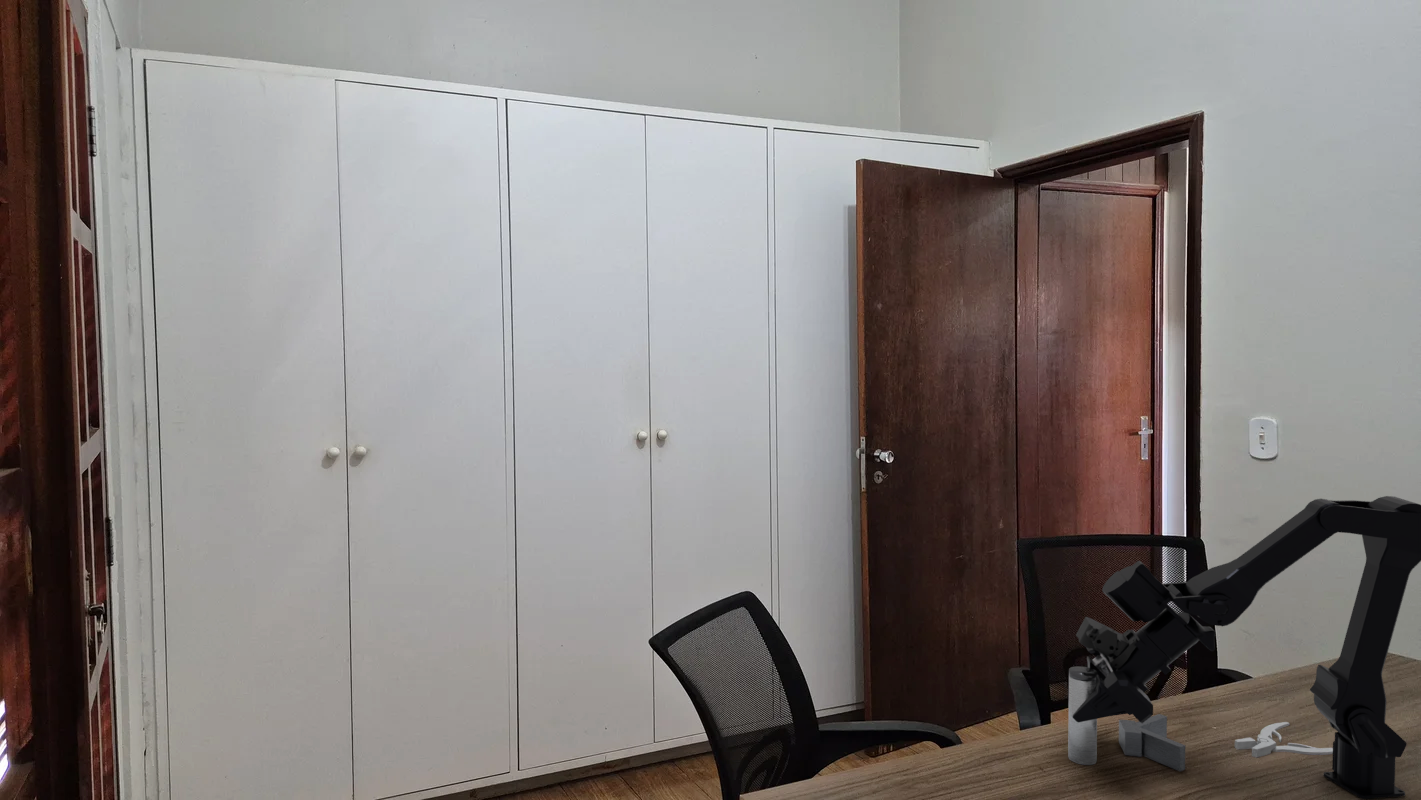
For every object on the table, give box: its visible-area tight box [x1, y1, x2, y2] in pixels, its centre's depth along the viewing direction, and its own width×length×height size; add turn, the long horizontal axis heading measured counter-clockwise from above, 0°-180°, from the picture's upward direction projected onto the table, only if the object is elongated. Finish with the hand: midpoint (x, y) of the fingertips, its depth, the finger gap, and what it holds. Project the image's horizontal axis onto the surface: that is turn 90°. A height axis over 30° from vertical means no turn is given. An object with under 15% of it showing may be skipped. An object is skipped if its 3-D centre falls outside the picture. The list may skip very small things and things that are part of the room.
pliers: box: [1234, 721, 1333, 758], centre depth 128 cm, size 10×2×15 cm
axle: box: [1067, 665, 1098, 766], centre depth 124 cm, size 4×4×13 cm
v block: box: [1118, 713, 1186, 772], centre depth 126 cm, size 7×12×4 cm, turn 165°
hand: (1072, 713), depth 124 cm, fingers closed on axle, 4 cm apart
